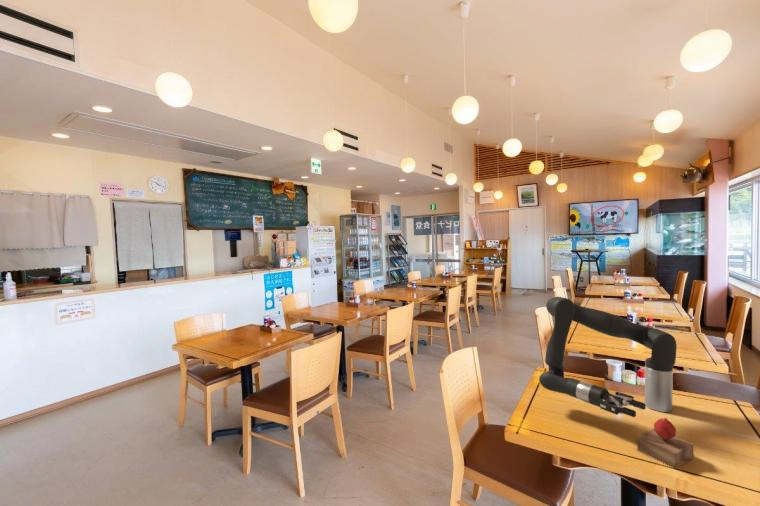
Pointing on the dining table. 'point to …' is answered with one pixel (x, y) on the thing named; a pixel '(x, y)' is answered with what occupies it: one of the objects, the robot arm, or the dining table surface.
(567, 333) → the robot arm
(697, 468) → the dining table surface
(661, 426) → the onion
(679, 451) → the walnut block
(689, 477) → the dining table surface
